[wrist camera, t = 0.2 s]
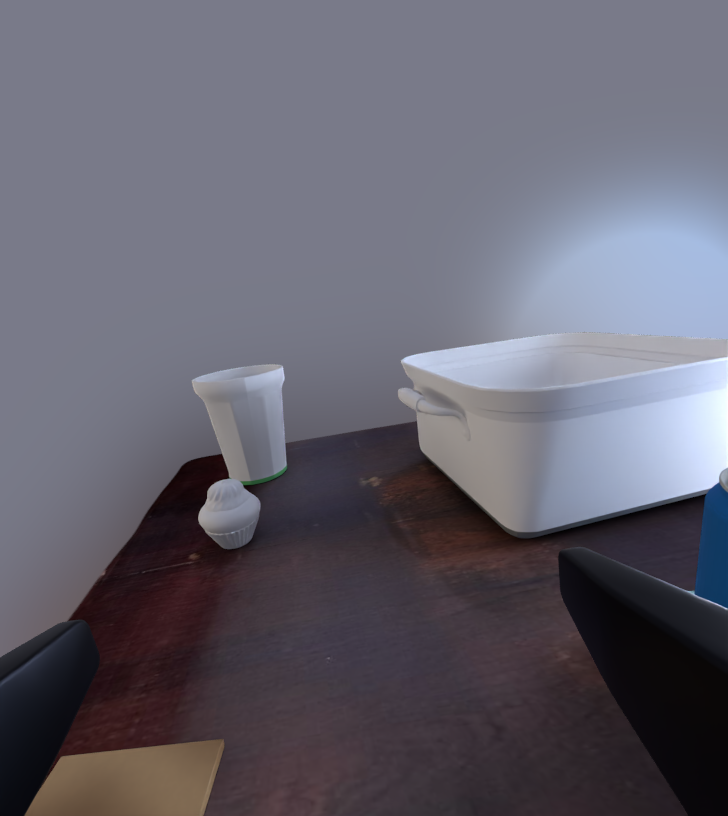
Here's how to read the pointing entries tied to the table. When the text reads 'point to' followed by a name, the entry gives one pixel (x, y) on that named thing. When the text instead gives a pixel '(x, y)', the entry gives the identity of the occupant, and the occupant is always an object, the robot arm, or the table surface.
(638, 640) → the robot arm
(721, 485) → the beverage can
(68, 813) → the mat
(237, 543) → the muffin
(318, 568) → the table surface
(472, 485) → the white storage bin
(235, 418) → the cup
